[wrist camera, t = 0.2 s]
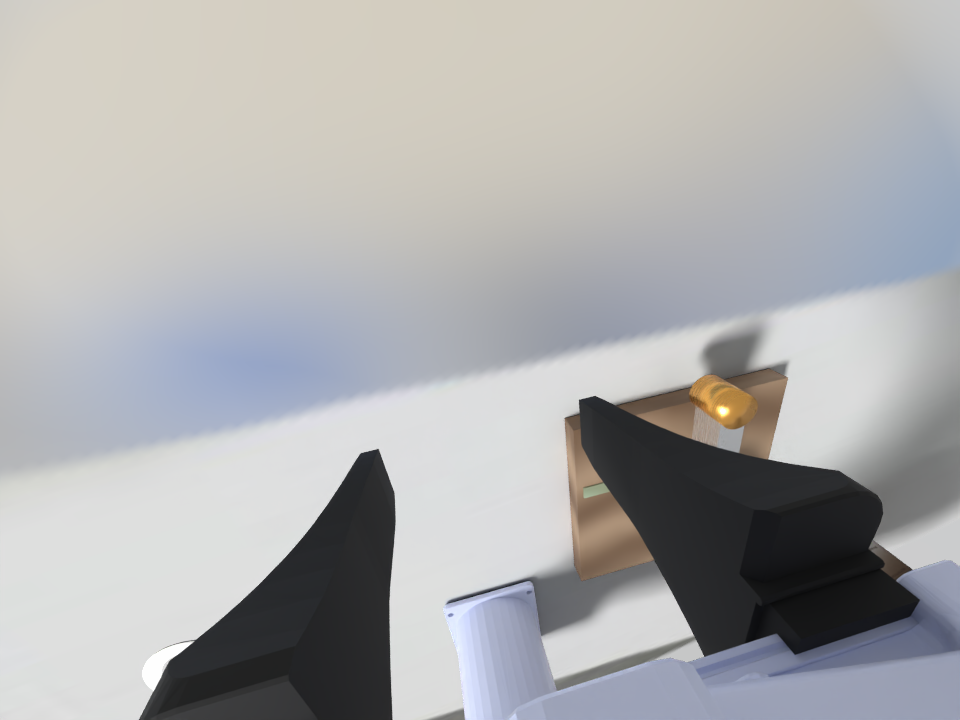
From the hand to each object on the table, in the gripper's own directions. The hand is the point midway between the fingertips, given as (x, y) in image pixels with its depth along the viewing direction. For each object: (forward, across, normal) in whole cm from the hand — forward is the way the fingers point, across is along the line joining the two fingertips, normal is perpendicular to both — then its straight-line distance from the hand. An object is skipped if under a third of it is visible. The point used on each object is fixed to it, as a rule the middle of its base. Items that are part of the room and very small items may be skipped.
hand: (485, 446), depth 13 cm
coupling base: (+10, -14, +15) cm, 23 cm away
